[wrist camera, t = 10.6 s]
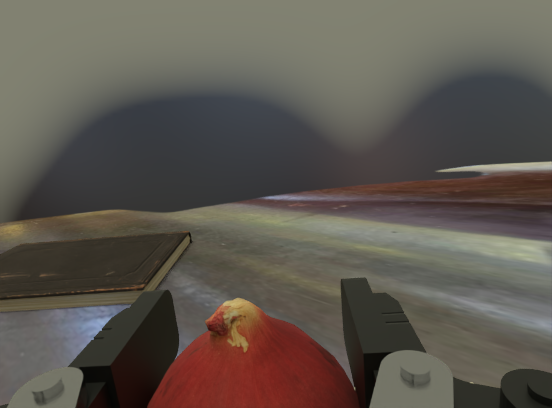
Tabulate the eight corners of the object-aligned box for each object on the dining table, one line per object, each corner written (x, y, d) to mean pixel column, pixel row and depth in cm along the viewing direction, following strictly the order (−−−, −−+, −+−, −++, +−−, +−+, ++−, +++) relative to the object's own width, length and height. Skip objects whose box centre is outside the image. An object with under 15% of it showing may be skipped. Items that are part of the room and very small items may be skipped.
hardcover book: (147, 310, 33) (142, 286, 32) (-90, 325, 34) (-99, 303, 33) (192, 245, 48) (190, 229, 48) (28, 257, 49) (24, 242, 49)
